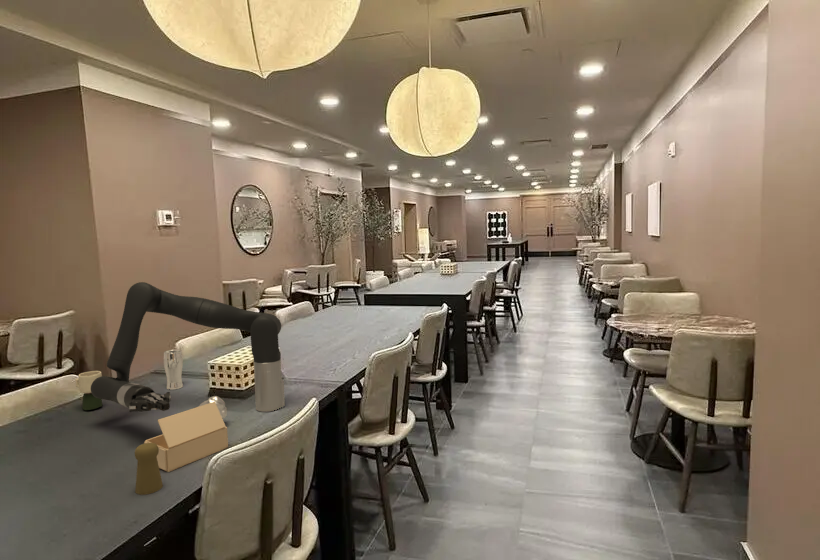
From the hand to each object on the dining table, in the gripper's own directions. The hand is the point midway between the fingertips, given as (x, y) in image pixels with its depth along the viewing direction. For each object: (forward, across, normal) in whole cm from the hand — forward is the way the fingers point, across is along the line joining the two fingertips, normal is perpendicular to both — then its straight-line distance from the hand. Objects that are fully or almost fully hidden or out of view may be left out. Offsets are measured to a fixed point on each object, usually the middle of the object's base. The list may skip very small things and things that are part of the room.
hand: (166, 406), depth 146 cm
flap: (+15, 0, +6) cm, 16 cm away
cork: (+19, -16, +12) cm, 28 cm away
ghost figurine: (-3, +16, +12) cm, 21 cm away
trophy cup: (-56, +4, +12) cm, 57 cm away
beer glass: (-54, +34, +12) cm, 65 cm away
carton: (+10, 0, +12) cm, 15 cm away
